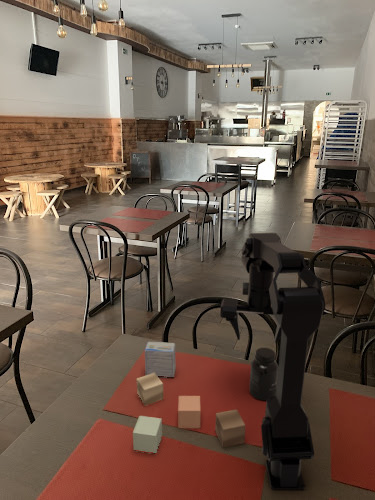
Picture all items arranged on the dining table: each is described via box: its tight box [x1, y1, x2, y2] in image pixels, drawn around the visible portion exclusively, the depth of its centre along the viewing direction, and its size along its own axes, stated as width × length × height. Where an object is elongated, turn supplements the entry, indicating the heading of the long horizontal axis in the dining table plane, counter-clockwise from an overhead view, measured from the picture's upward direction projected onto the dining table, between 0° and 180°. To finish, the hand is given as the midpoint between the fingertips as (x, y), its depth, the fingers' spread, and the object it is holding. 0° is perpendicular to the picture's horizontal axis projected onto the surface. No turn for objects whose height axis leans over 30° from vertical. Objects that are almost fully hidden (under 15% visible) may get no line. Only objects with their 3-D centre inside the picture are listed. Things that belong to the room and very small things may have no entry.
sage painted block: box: [132, 415, 163, 453], centre depth 85 cm, size 5×5×5 cm
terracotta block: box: [177, 395, 201, 429], centre depth 92 cm, size 5×5×5 cm
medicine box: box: [144, 341, 177, 378], centre depth 108 cm, size 8×4×9 cm, turn 84°
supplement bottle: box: [249, 347, 279, 401], centre depth 100 cm, size 7×7×12 cm
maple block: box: [136, 373, 164, 407], centre depth 99 cm, size 5×5×5 cm
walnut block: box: [214, 409, 246, 449], centre depth 87 cm, size 5×5×5 cm
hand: (257, 340), depth 99 cm, fingers open, 9 cm apart
